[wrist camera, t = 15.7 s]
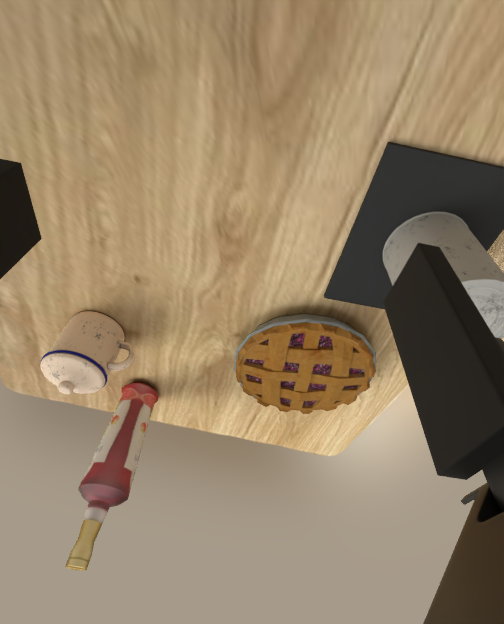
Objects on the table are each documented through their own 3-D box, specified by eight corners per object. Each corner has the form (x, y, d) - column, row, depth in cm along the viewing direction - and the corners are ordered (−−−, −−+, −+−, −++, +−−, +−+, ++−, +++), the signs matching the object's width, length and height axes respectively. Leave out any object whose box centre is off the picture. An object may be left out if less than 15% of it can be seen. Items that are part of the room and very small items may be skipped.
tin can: (455, 280, 43) (500, 355, 34) (376, 282, 44) (399, 355, 35) (482, 208, 37) (546, 277, 28) (389, 213, 38) (421, 280, 29)
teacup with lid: (79, 346, 59) (43, 406, 50) (61, 306, 53) (17, 367, 44) (149, 352, 58) (125, 413, 50) (138, 312, 52) (109, 374, 44)
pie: (241, 393, 64) (238, 417, 61) (228, 304, 50) (223, 328, 46) (361, 396, 62) (366, 421, 58) (385, 304, 48) (393, 330, 44)
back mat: (388, 141, 34) (389, 143, 33) (539, 174, 35) (542, 177, 34) (324, 295, 47) (324, 297, 47) (434, 315, 48) (436, 318, 48)
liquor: (126, 372, 63) (46, 557, 42) (165, 384, 64) (107, 567, 44) (120, 393, 67) (46, 568, 47) (156, 403, 69) (101, 577, 48)
